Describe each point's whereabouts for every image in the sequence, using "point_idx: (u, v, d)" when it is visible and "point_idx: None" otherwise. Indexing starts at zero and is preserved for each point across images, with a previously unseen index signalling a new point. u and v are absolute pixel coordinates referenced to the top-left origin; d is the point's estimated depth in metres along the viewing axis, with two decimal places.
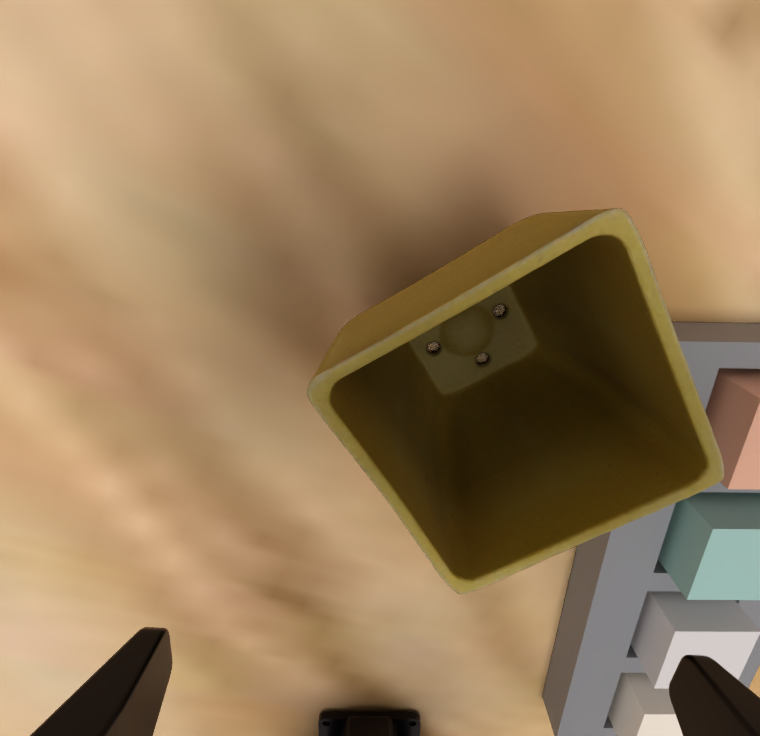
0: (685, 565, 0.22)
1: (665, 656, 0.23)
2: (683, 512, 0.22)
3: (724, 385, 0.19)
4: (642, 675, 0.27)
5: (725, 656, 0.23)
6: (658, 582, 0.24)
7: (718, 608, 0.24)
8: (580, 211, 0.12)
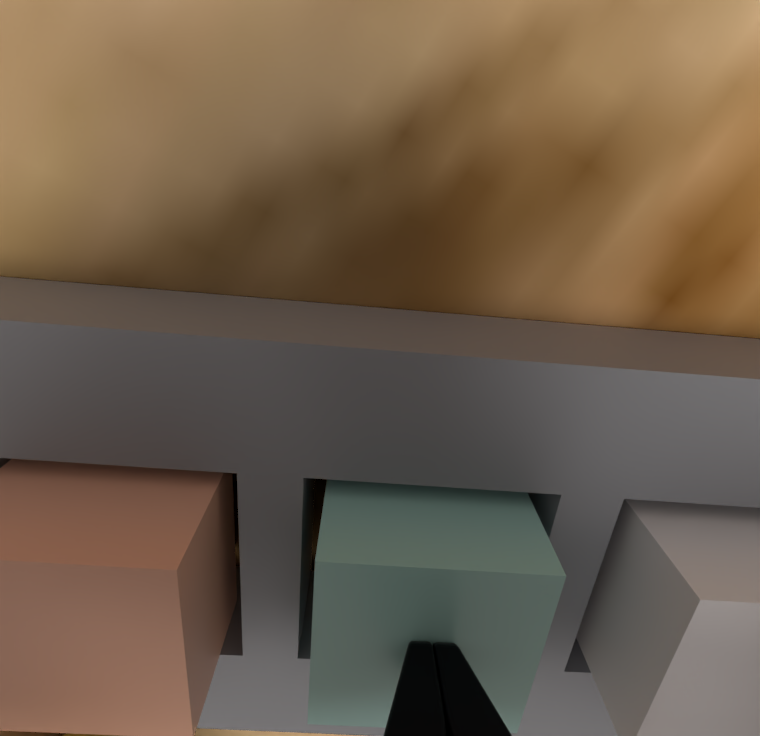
0: None
1: None
2: None
3: None
4: None
5: None
6: None
7: (637, 587, 0.09)
8: None
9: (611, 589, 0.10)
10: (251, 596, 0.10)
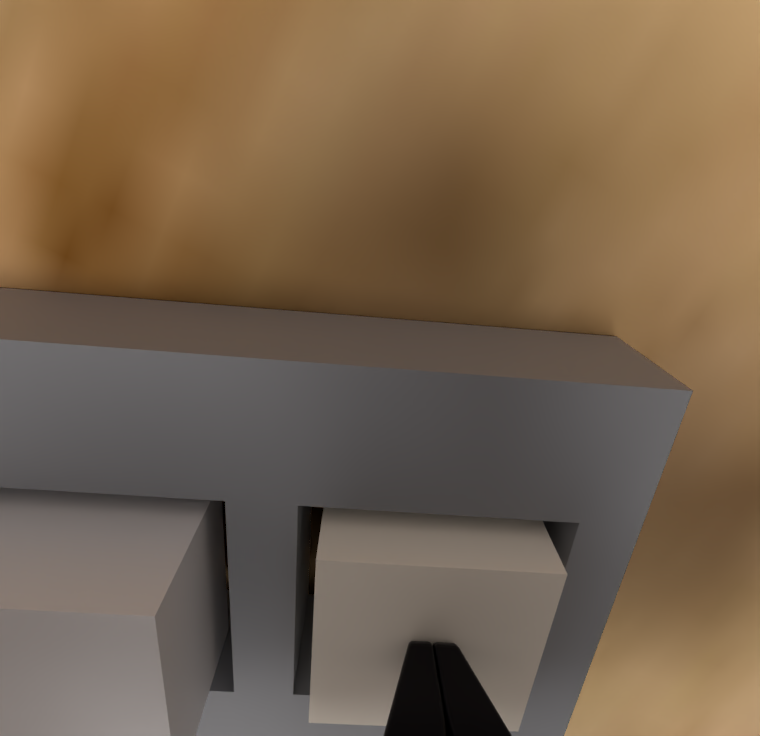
0: None
1: None
2: None
3: None
4: None
5: None
6: None
7: None
8: None
9: None
10: None
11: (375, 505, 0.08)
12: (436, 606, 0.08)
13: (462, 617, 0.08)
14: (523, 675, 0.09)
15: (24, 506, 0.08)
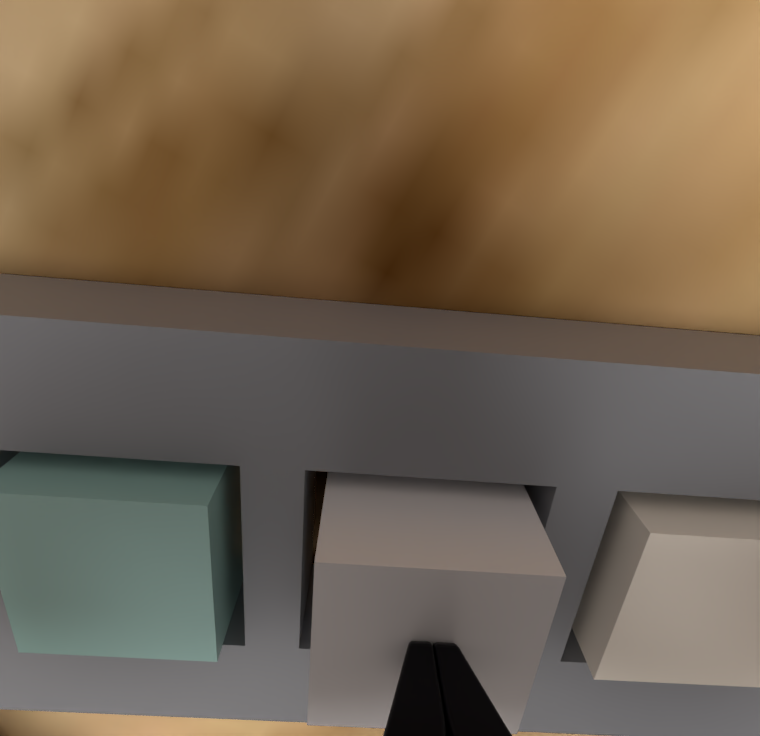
0: None
1: None
2: None
3: None
4: None
5: (413, 620, 0.08)
6: (271, 635, 0.11)
7: None
8: None
9: None
10: None
11: (680, 491, 0.09)
12: (738, 573, 0.09)
13: (758, 584, 0.09)
14: None
15: (381, 489, 0.09)
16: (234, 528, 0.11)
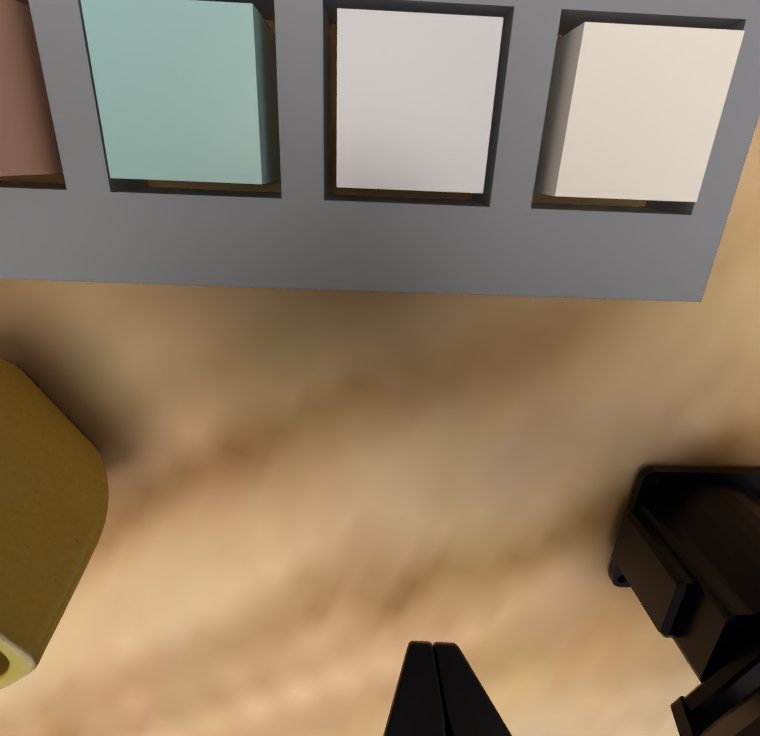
0: None
1: (399, 189, 0.13)
2: None
3: None
4: None
5: (404, 67, 0.12)
6: (301, 185, 0.14)
7: None
8: None
9: None
10: (60, 119, 0.13)
11: (609, 13, 0.12)
12: (656, 66, 0.12)
13: (672, 77, 0.12)
14: (706, 137, 0.13)
15: None
16: (269, 101, 0.14)
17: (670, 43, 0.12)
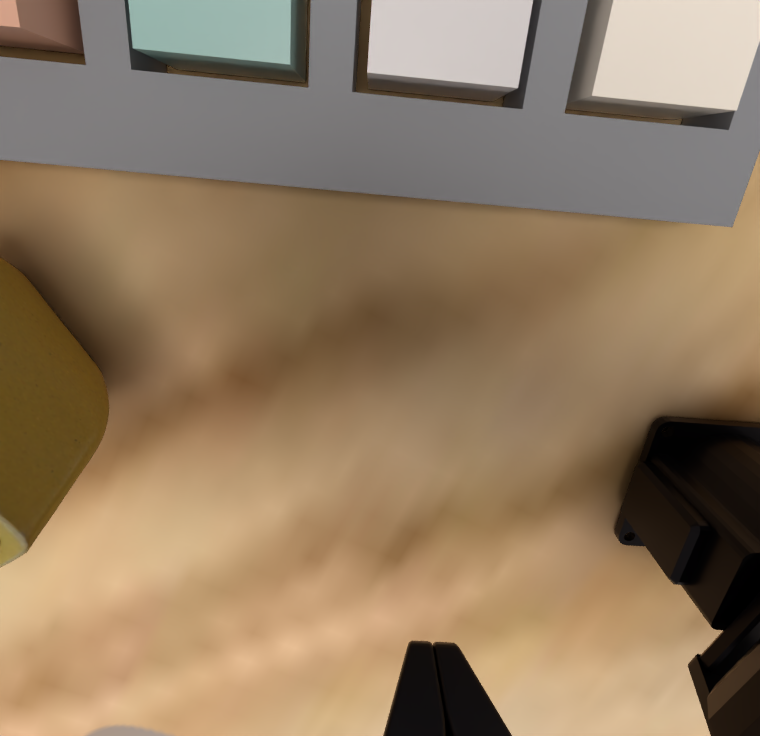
0: (246, 64, 0.13)
1: (432, 79, 0.13)
2: (183, 64, 0.14)
3: None
4: None
5: None
6: (330, 73, 0.13)
7: None
8: None
9: None
10: None
11: None
12: None
13: None
14: (751, 39, 0.12)
15: None
16: None
17: None
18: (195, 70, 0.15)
